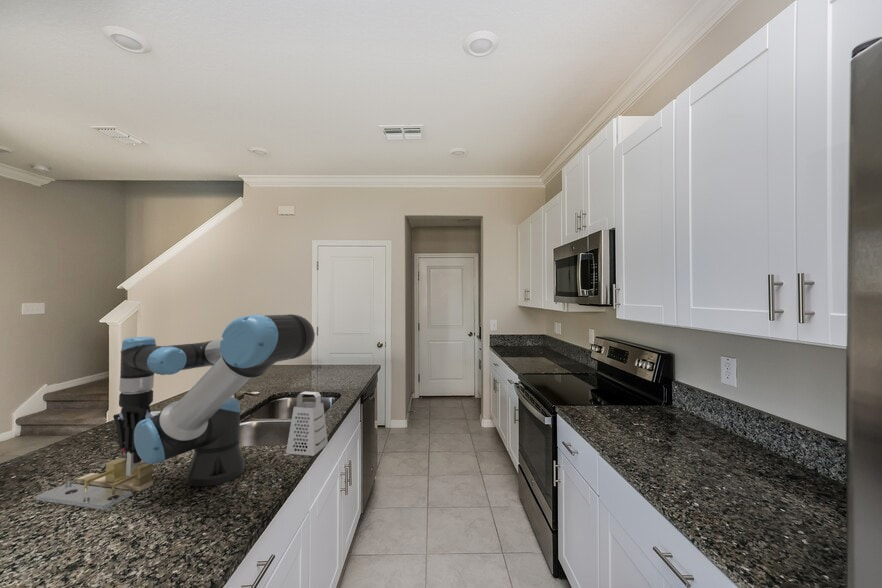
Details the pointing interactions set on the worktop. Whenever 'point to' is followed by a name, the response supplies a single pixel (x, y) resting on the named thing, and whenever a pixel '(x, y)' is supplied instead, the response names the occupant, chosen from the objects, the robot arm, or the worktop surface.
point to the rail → (125, 479)
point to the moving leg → (111, 472)
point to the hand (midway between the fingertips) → (133, 473)
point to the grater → (307, 426)
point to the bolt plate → (84, 496)
